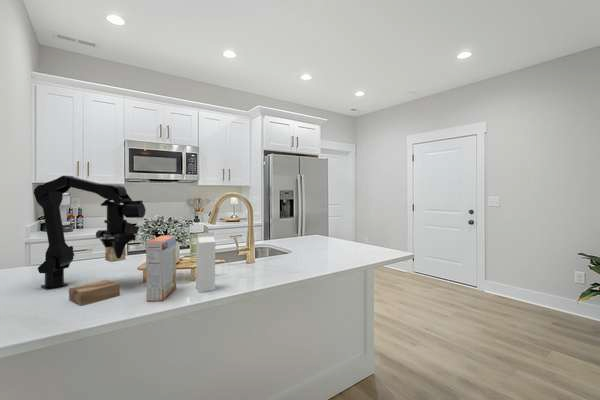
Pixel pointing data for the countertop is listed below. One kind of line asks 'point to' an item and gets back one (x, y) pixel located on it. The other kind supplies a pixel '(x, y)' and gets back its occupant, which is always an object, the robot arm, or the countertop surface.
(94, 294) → the walnut box
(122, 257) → the oak cube
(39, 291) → the countertop surface
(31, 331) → the countertop surface
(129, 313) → the countertop surface
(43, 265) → the robot arm
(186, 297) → the countertop surface
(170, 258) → the cracker box
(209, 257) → the milk
